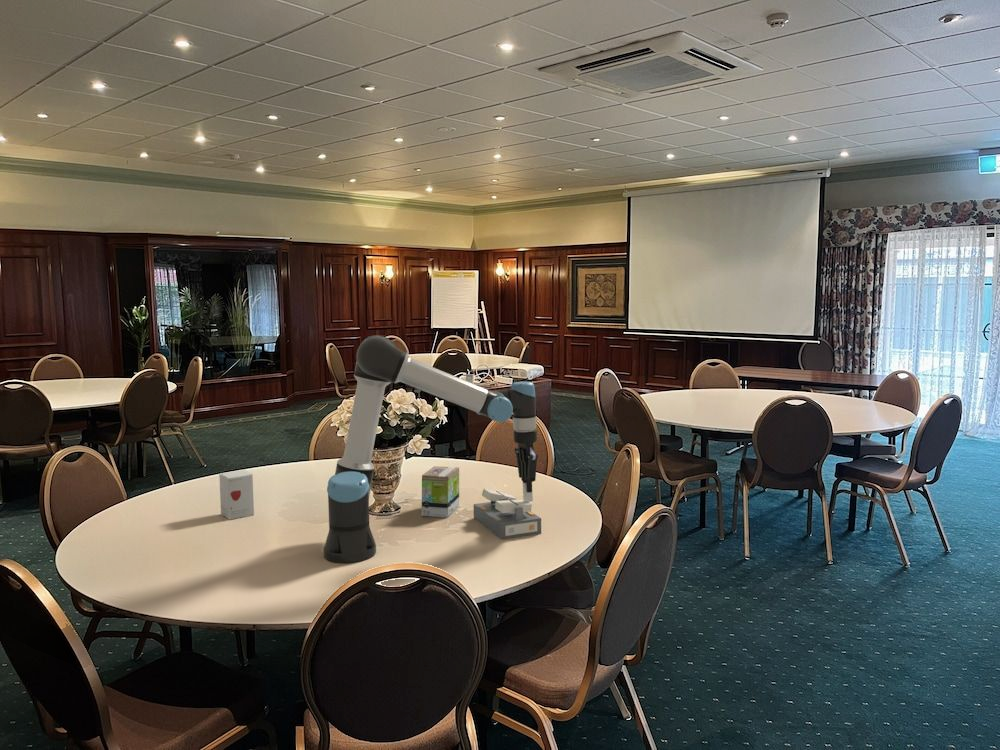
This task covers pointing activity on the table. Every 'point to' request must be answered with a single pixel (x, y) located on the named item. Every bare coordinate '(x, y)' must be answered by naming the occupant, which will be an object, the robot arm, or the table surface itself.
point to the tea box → (440, 491)
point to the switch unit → (507, 521)
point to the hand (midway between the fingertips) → (528, 501)
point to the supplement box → (236, 494)
